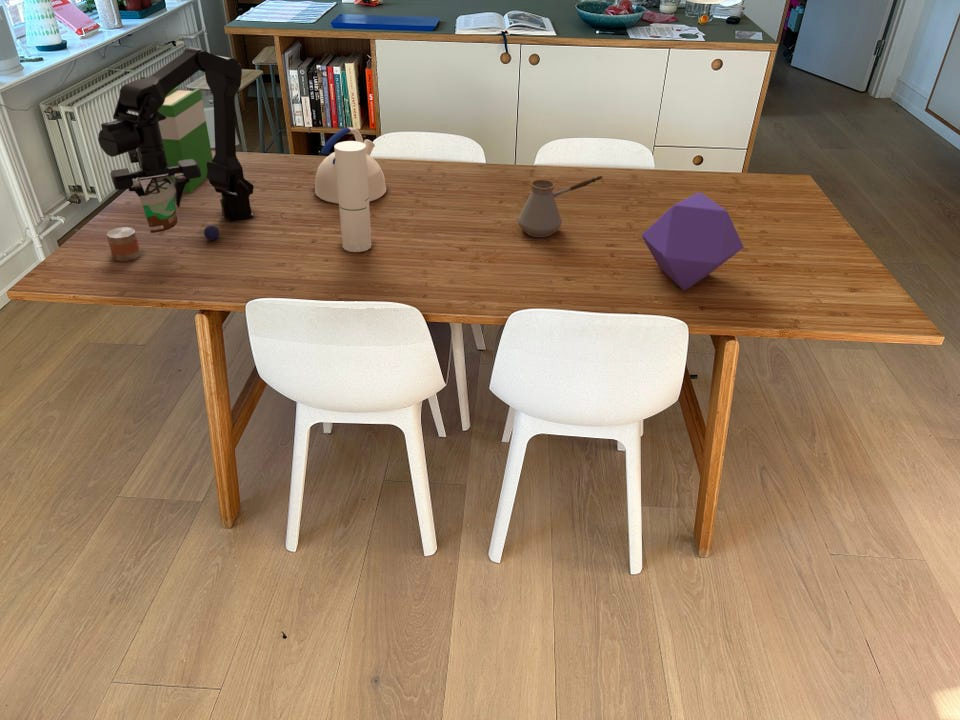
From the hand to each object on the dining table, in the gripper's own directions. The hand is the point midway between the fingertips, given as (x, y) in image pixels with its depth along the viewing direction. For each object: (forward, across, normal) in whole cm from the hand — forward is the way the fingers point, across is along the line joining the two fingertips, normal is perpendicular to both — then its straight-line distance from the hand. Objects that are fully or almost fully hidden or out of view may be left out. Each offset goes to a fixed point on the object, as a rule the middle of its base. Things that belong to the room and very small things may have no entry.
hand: (164, 208), depth 175 cm
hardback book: (+10, -13, -42) cm, 45 cm away
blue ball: (+10, -10, 0) cm, 14 cm away
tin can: (+10, +10, 0) cm, 14 cm away
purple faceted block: (+10, -102, +69) cm, 124 cm away
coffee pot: (+10, -90, +34) cm, 97 cm away
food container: (+3, 0, +1) cm, 4 cm away
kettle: (+10, -52, -15) cm, 55 cm away
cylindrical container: (+10, -40, +19) cm, 46 cm away
